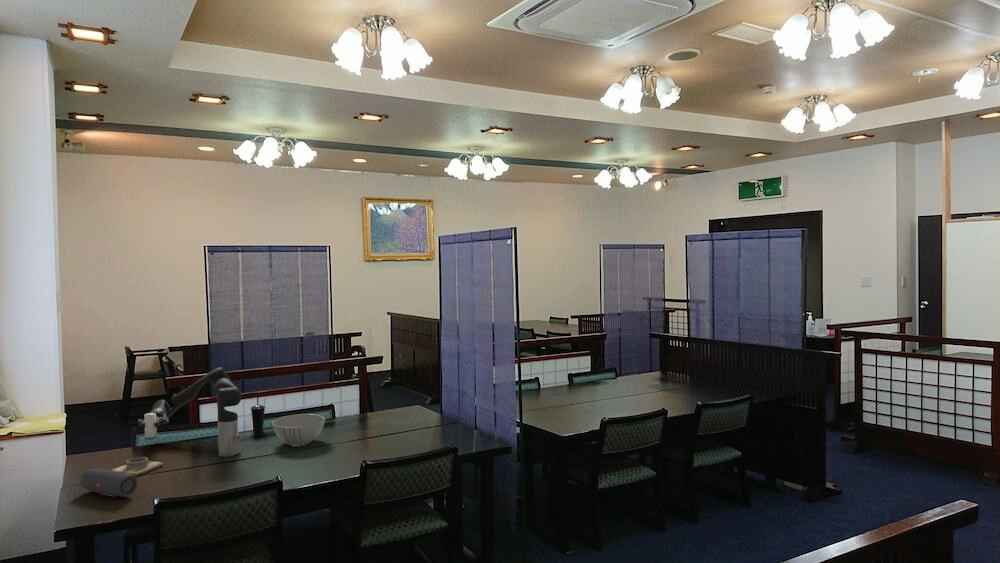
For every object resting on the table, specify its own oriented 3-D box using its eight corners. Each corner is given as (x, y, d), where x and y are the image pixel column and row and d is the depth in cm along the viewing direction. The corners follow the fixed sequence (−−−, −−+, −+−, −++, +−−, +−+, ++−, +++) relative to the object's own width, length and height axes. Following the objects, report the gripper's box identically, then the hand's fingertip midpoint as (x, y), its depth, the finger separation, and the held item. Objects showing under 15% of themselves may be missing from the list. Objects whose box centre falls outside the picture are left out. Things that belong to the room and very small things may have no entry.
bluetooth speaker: (79, 495, 259) (78, 471, 258) (100, 487, 267) (99, 464, 267) (118, 503, 251) (117, 478, 250) (138, 494, 259) (138, 471, 259)
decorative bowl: (284, 454, 311) (284, 430, 310) (264, 442, 331) (264, 419, 331) (334, 443, 329) (333, 421, 328) (312, 432, 349) (311, 411, 348)
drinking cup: (268, 429, 354) (267, 395, 353) (259, 433, 347) (258, 398, 346) (257, 428, 356) (256, 394, 355) (247, 432, 349) (247, 397, 348)
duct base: (163, 465, 294) (163, 456, 294) (136, 476, 280) (136, 466, 279) (138, 462, 298) (138, 453, 298) (110, 473, 284) (110, 463, 284)
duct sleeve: (159, 437, 309) (158, 413, 309) (150, 440, 304) (150, 415, 304) (150, 436, 311) (150, 412, 310) (142, 439, 306) (141, 415, 305)
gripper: (172, 423, 323) (165, 431, 307) (140, 425, 319) (132, 434, 303) (171, 408, 323) (165, 416, 307) (140, 410, 318) (132, 419, 302)
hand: (149, 425), depth 305 cm, fingers closed on duct sleeve, 5 cm apart
